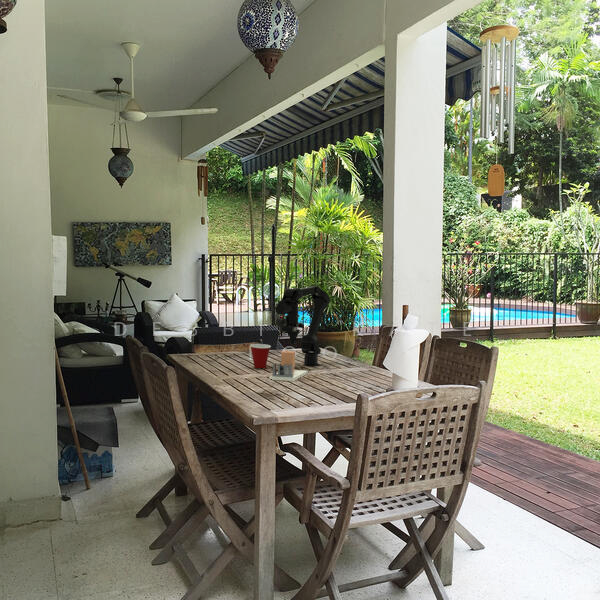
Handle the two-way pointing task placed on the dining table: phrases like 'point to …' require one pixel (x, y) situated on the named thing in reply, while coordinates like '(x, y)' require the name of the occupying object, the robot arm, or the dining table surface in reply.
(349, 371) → the dining table surface
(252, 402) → the dining table surface
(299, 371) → the cord board
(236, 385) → the dining table surface
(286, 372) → the connector and comb
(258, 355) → the plastic cup
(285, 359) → the marker sleeve
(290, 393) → the dining table surface
